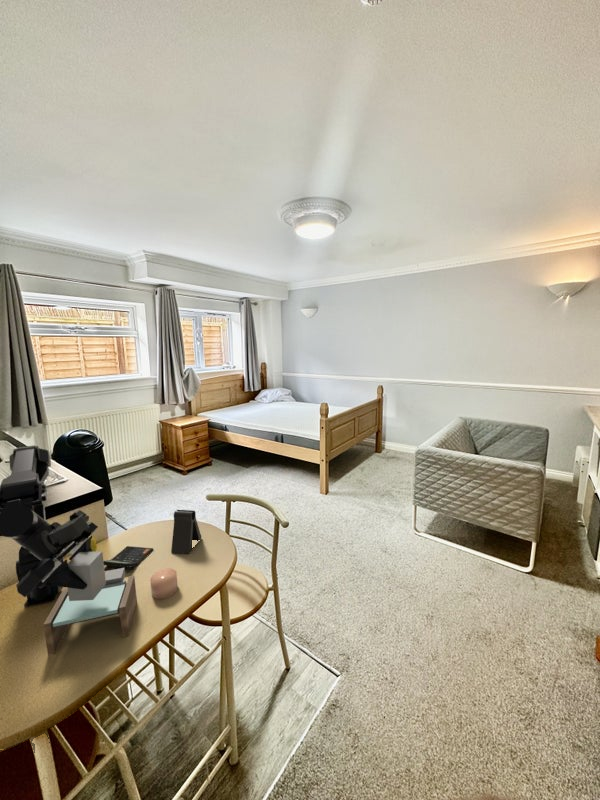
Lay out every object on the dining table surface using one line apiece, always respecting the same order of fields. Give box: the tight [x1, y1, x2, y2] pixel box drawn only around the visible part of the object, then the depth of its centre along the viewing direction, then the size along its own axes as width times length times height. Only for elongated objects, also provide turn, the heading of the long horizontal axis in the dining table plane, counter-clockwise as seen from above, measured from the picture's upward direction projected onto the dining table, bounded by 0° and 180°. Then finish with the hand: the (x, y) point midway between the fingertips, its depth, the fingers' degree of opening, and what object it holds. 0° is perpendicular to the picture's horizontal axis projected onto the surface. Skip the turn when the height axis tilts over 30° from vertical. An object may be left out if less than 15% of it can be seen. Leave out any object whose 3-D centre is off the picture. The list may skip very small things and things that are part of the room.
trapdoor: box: [53, 567, 127, 627], centre depth 77 cm, size 12×14×2 cm
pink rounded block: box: [149, 567, 179, 600], centre depth 88 cm, size 6×6×4 cm
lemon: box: [87, 535, 98, 552], centre depth 102 cm, size 6×6×8 cm
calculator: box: [103, 545, 154, 568], centre depth 102 cm, size 9×12×3 cm
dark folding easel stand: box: [170, 509, 203, 555], centre depth 108 cm, size 9×6×12 cm, turn 171°
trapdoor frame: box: [43, 574, 138, 656], centre depth 77 cm, size 15×11×7 cm
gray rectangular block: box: [67, 550, 106, 601], centre depth 73 cm, size 5×5×8 cm
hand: (93, 578), depth 73 cm, fingers closed on gray rectangular block, 5 cm apart
